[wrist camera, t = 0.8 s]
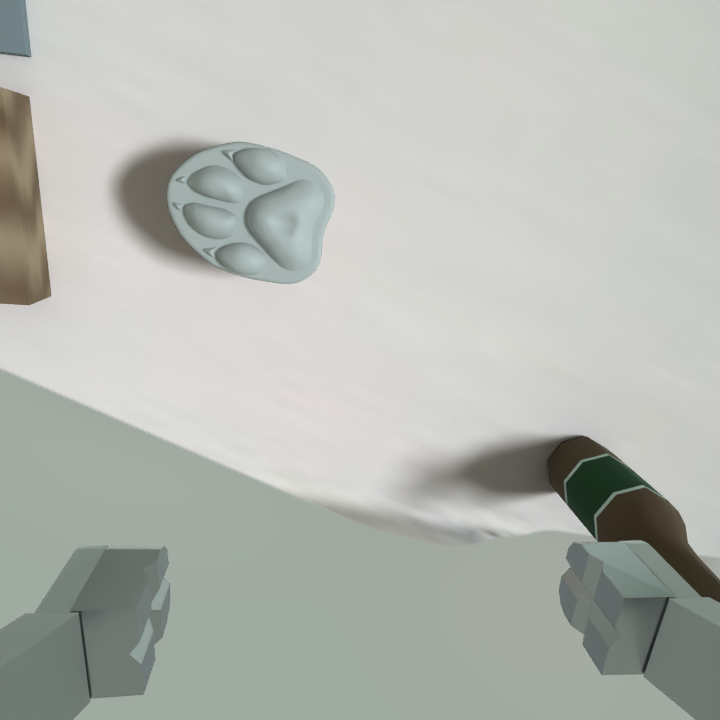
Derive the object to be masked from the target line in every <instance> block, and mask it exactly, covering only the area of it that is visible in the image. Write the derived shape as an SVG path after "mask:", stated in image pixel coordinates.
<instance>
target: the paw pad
mask: <svg viewBox="0 0 720 720" xmlns="http://www.w3.org/2000/svg"><path fill="white" fill-rule="evenodd" d="M166 199H167V206H168V210H169V213H170V215H171V218H172V220H173V222H174V224H175V226H176V228H177V230H178V231H179V233H180V235H181V236H182V237H183V238H184V240H185V241H186V242H187V243H188V244H189V245H190V246H191V247H192V248H193V249H194V250H195V251H196V252H197V253H198V254H200V255H201V256H202V257H203V258H204V259H205V260H207V261H208V262H209V263H210V264H212V265H213V266H215V267H217V268H220V269H222V270H225V271H228V272H230V273H233V274H236V275H239V276H243V277H247V278H251V279H255V280H261V281H267V282H273V283H280V284H292V283H297V282H300V281H302V280H304V279H306V278H308V277H309V276H311V275H312V274H313V273H314V272H315V271H316V269H317V268H318V266H319V263H320V259H321V254H322V242H323V235H324V231H325V228H326V226H327V223H328V221H329V219H330V217H331V214H332V212H333V209H334V204H335V195H334V190H333V188H332V185H331V183H330V182H329V180H328V179H327V177H326V176H325V175H324V174H323V173H322V172H321V171H320V170H319V169H318V168H317V167H315V166H314V165H312V164H310V163H308V162H306V161H304V160H302V159H299V158H297V157H294V156H292V155H290V154H287V153H285V152H282V151H279V150H276V149H272V148H269V147H265V146H261V145H257V144H252V143H247V142H232V143H226V144H222V145H218V146H215V147H211V148H208V149H205V150H203V151H200V152H198V153H196V154H194V155H193V156H191V157H190V158H189V159H187V160H186V161H185V162H184V163H183V164H181V165H180V166H179V167H178V168H177V170H176V171H175V172H174V173H173V175H172V176H171V178H170V180H169V183H168V186H167V193H166Z"/></svg>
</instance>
